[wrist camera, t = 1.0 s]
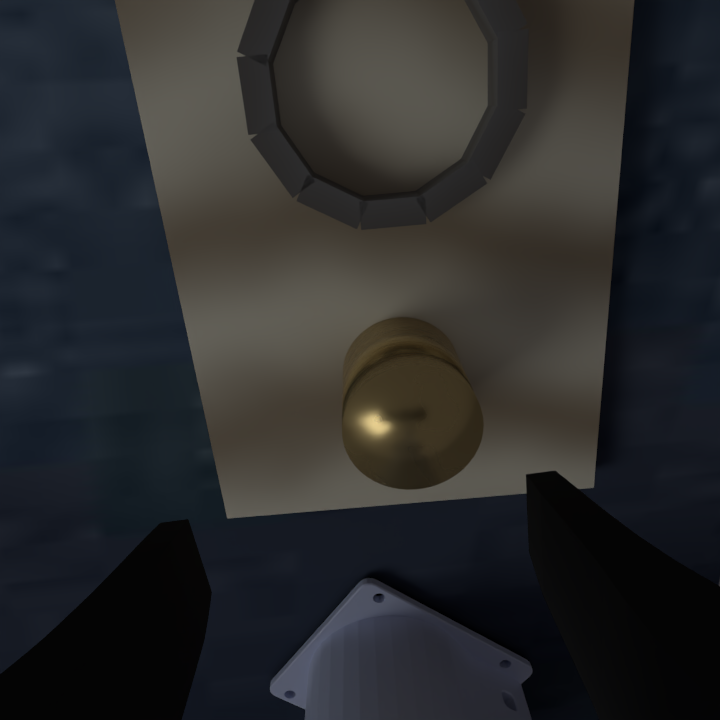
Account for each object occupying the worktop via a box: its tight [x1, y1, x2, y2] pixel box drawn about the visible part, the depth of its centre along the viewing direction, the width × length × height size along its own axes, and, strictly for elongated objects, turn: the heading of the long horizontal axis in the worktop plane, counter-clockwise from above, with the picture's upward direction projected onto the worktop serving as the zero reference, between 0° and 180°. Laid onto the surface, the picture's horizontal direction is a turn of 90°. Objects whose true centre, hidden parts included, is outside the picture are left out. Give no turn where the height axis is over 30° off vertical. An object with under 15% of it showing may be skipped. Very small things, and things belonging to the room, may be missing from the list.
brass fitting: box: [342, 317, 484, 490], centre depth 18 cm, size 4×4×4 cm
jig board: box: [115, 0, 634, 518], centre depth 18 cm, size 20×14×2 cm
